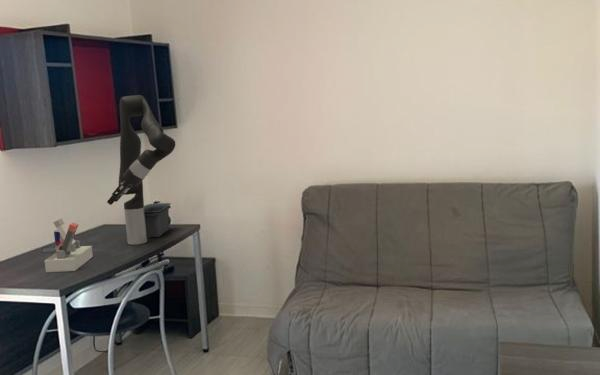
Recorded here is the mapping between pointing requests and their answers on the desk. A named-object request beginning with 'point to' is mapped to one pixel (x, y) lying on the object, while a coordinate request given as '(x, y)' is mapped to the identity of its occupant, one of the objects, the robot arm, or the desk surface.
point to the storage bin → (156, 219)
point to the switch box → (69, 258)
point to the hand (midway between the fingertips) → (111, 201)
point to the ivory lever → (62, 229)
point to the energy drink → (58, 240)
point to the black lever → (69, 237)
